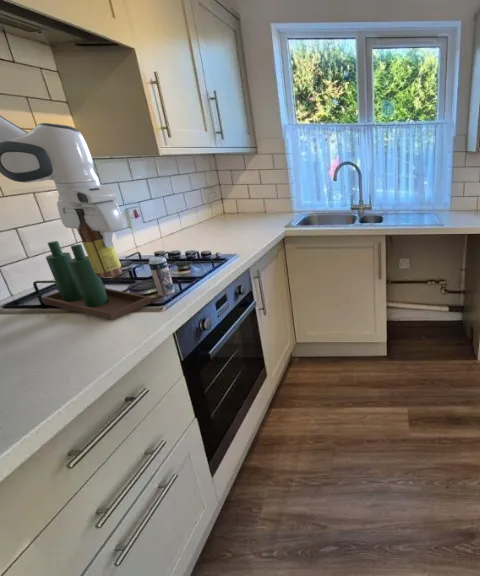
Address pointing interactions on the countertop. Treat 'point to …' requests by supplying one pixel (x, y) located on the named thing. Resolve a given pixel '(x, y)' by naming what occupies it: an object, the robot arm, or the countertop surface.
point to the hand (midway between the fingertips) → (99, 245)
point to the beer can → (161, 276)
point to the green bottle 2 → (87, 278)
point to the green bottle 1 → (63, 273)
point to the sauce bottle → (98, 250)
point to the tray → (109, 310)
